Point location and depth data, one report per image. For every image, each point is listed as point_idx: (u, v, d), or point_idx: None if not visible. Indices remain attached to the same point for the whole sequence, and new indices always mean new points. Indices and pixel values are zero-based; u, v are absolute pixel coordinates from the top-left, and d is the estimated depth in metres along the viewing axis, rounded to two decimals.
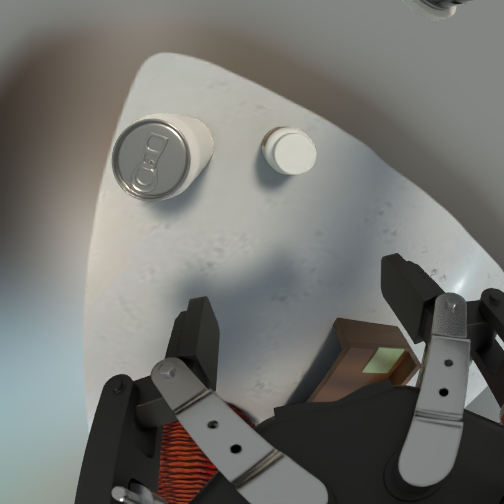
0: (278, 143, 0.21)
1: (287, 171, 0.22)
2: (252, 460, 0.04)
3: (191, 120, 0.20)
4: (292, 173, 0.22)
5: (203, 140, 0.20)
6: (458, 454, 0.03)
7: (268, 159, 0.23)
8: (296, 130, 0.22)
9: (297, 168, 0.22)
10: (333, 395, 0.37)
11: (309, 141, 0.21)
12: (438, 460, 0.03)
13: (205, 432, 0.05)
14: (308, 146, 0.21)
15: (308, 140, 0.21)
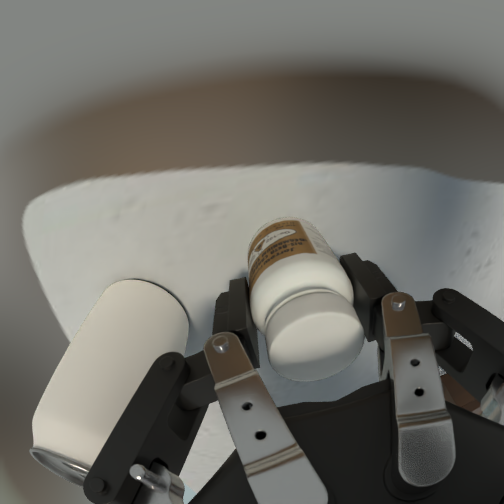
0: (270, 353, 0.09)
1: (314, 379, 0.10)
2: (252, 460, 0.04)
3: (102, 353, 0.10)
4: (326, 376, 0.10)
5: None
6: (458, 454, 0.03)
7: None
8: (297, 272, 0.10)
9: (332, 367, 0.09)
10: None
11: (337, 317, 0.08)
12: (438, 460, 0.03)
13: (238, 412, 0.06)
14: (339, 326, 0.08)
15: (334, 317, 0.08)
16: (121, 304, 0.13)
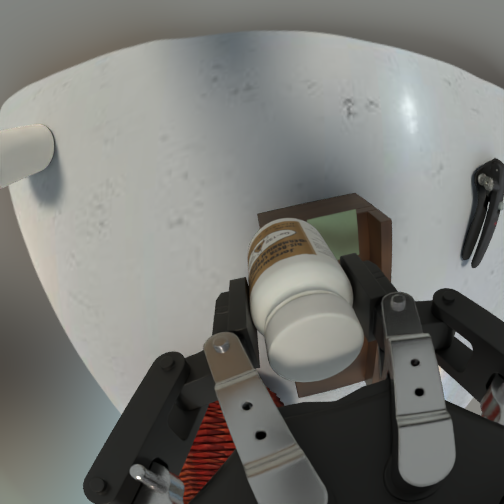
0: (270, 354, 0.09)
1: (314, 379, 0.10)
2: (252, 460, 0.04)
3: (7, 129, 0.19)
4: (325, 377, 0.10)
5: (10, 134, 0.18)
6: (458, 454, 0.03)
7: None
8: (296, 273, 0.10)
9: (332, 368, 0.09)
10: None
11: (336, 318, 0.08)
12: (438, 460, 0.03)
13: (237, 412, 0.06)
14: (338, 327, 0.09)
15: (333, 318, 0.08)
16: None
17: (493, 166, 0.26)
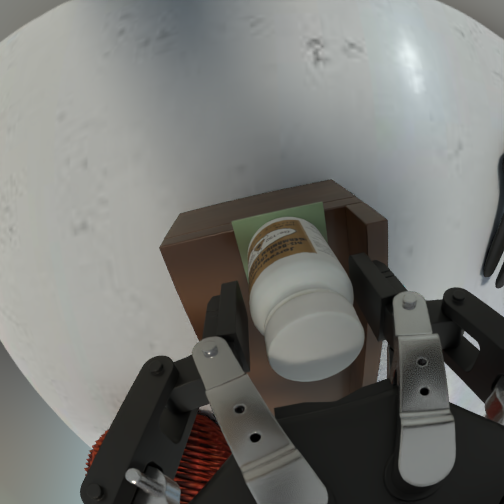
0: (270, 353, 0.09)
1: (314, 379, 0.10)
2: (252, 460, 0.04)
3: None
4: (326, 376, 0.10)
5: None
6: (458, 454, 0.03)
7: None
8: (296, 272, 0.10)
9: (332, 367, 0.09)
10: None
11: (337, 317, 0.08)
12: (438, 460, 0.03)
13: (230, 415, 0.06)
14: (339, 326, 0.08)
15: (334, 316, 0.08)
16: None
17: None
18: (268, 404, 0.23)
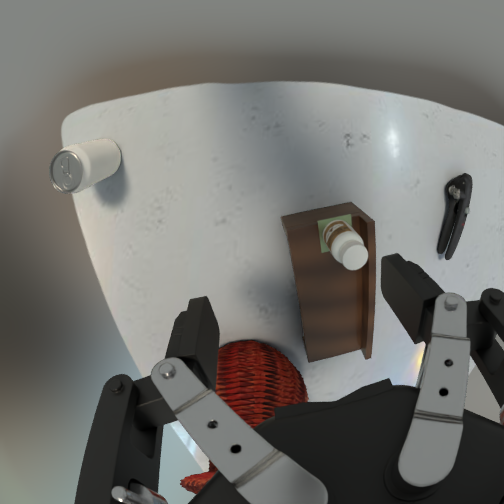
0: (343, 257, 0.32)
1: (354, 269, 0.33)
2: (252, 460, 0.04)
3: (86, 142, 0.31)
4: (357, 268, 0.33)
5: (93, 147, 0.31)
6: (458, 454, 0.03)
7: (337, 260, 0.35)
8: (347, 236, 0.33)
9: (359, 264, 0.32)
10: (315, 288, 0.43)
11: (360, 246, 0.31)
12: (438, 460, 0.03)
13: (205, 432, 0.05)
14: (361, 249, 0.32)
15: (359, 246, 0.31)
16: None
17: (461, 180, 0.38)
18: (320, 317, 0.46)
